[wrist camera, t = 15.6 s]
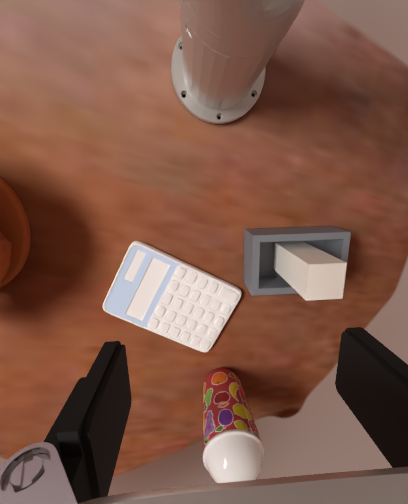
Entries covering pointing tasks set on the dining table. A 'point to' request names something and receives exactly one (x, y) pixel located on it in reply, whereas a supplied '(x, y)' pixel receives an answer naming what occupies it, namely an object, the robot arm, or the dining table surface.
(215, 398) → the smoothie
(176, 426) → the dining table surface
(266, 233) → the grey open box
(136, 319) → the calculator
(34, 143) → the dining table surface
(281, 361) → the dining table surface
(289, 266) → the post
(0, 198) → the pumpkin
